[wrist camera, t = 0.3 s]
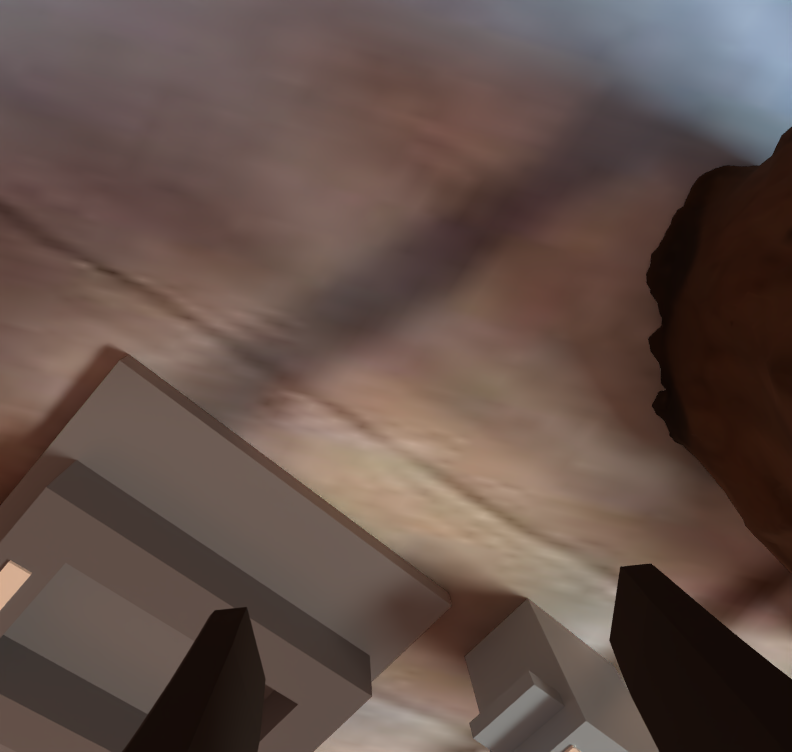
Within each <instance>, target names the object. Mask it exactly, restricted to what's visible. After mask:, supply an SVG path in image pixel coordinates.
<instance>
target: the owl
mask: <svg viewBox="0 0 792 752" xmlns="http://www.w3.org/2000/svg"><path fill="white" fill-rule="evenodd" d="M646 276H647V284H648V286H649V288H650V293H651V294H652V296H653V297H654V299H655V300H656V301H657V303H658V307H659V312H660V315H661V317H662V326H661V327H660V328H659V329H658V330H657V331H655V332H654V333H653V334H652V335H651V336H650V337H649V338H648V341H649V345H650V350H651V352H652V354H653V355H654V357H655V358H656V360H657V361H658V362H659V365H660V369H661V384H662V385H663V387H664V388H665V389H666V390H664V391H660V392H659V393H658V394H657V396H656V398H655V400H654V402H653V404H652V407H653V409H654V411H655V413H656V414H657V415H658V416H659V417H661V418H662V419H663V420H664V421H665V423H666V425H667V428H668V430H669V433H670V436H671V437H672V438H673V440H674V441H675V442H677V443H679V444H681V445H683V446H684V447H685V448H686V449H687V450H688V451H689V452H690V453H692V454H693V455H694V456H695V457H696V458H697V459H698V460H699V461H700V462H701V464H702V465H703V466H704V467H705V469H706V470H707V471H708V472H709V473H710V475H711V476H712V477H713V478H714V479H715V481H716V482H717V483H718V484H719V485H720V487H721V488H722V489H723V490H724V492H725V493H726V495H727V496H728V498H729V499H730V501H731V502H732V504H733V505H734V507H735V508H736V510H737V511H738V512H739V514H740V515H741V517H742V518H743V520H744V523H745V526H746V527H747V528H748V529H749V530H750V531H751V532H752V534H753V535H754V536H755V537H756V538H758V539H759V540H760V541H761V542H762V543H763V544H764V545H765V546H766V547H767V549H768V550H769V551H770V552H771V553H772V554H773V555H774V556H775V557H776V558H777V559H778V560H779V561H780V562H781V563H782V564H783V565H784V567H785V568H786V569H787V570H788V571H789V572H790V573H791V574H792V127H791V128H790V129H789V130H787V131H786V132H785V133H784V134H783V135H782V136H781V138H780V140H779V142H778V144H777V146H776V148H775V151H774V153H773V155H772V156H771V157H770V158H769V159H767V160H766V161H765V162H763V163H762V164H761V165H760V166H730V165H726V166H722V167H719V168H715V169H713V170H712V171H709V172H707V173H705V174H703V175H702V176H700V177H699V178H698V179H697V181H696V182H695V183H694V185H693V186H692V188H691V190H690V193H689V195H688V197H687V199H686V201H685V204H684V206H683V207H682V208H680V209H679V210H677V213H676V214H675V215H674V216H673V218H672V221H671V225H670V226H669V228H668V230H667V231H666V233H665V236H664V238H663V240H662V241H661V243H660V245H659V247H658V248H657V249H656V250H655V251H654V252H653V253H652V254H651V264H650V267H649V269H648V272H647V274H646Z"/></svg>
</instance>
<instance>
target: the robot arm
mask: <svg viewBox="0 0 792 752" xmlns="http://www.w3.org/2000/svg"><path fill="white" fill-rule="evenodd" d="M609 641H610V643H611V646H612V649H613V651H614V654H615V657H616V659H617V662H618V664H619V667H620V670H621V672H622V675H623V677H624V680H625V682H626V685H627V687H628V690H629V692H630V695H631V697H632V699H633V701H634V703H635V705H636V707H637V709H638V711H639V713H640V715H641V717H642V719H643V721H644V723H645V725H646V727H647V729H648V731H649V733H650V734H651V736H652V738H653V740H654V742H655V744H656V746H657V748H658V750H659V752H792V679H791V678H789V677H788V676H787V675H786V674H784V673H783V672H782V671H780V670H779V669H778V668H777V667H775V666H774V665H773V664H771V663H770V662H769V661H768V660H766V659H765V658H764V657H763V656H761V655H760V654H759V653H758V652H756V651H755V650H754V649H753V648H751V647H750V646H749V645H748V644H747V643H745V642H744V641H743V640H742V639H740V638H739V637H738V636H737V635H735V634H734V633H733V632H732V631H731V630H729V629H728V628H727V627H726V626H725V625H723V624H722V623H721V622H720V621H719V620H717V619H716V618H715V617H714V616H713V615H711V614H710V613H709V612H708V611H707V610H705V609H704V608H703V607H702V606H701V605H700V604H698V603H697V602H696V601H695V600H694V599H692V598H691V597H690V596H689V595H688V594H687V593H685V592H684V591H683V590H682V589H681V588H680V587H678V586H677V585H676V584H675V583H674V582H672V581H671V580H670V579H669V578H668V577H667V576H665V575H664V574H663V573H662V572H661V571H659V570H658V569H657V568H656V567H655V566H654V565H652V564H642V565H633V566H624V567H620V573H619V579H618V586H617V593H616V600H615V606H614V613H613V620H612V627H611V634H610V640H609ZM265 681H266V678H265V675H264V671H263V667H262V663H261V659H260V655H259V651H258V647H257V644H256V640H255V636H254V632H253V628H252V624H251V620H250V616H249V613H248V609H247V607H240V608H231V609H222V610H214V612H213V613H212V614H211V615H210V616H209V618H208V619H207V621H206V623H205V624H204V626H203V628H202V629H201V631H200V633H199V634H198V636H197V638H196V639H195V641H194V643H193V644H192V646H191V648H190V649H189V651H188V653H187V654H186V656H185V658H184V659H183V661H182V662H181V664H180V666H179V667H178V669H177V670H176V672H175V673H174V675H173V677H172V678H171V680H170V681H169V683H168V685H167V686H166V688H165V689H164V691H163V692H162V694H161V695H160V697H159V698H158V700H157V701H156V703H155V704H154V706H153V707H152V709H151V710H150V712H149V713H148V715H147V716H146V718H145V719H144V721H143V722H142V724H141V725H140V727H139V728H138V730H137V731H136V733H135V734H134V736H133V737H132V738H131V740H130V741H129V743H128V744H127V746H126V747H125V748H124V750H123V751H122V752H258V747H259V742H260V734H261V725H262V715H263V704H264V692H265Z"/></svg>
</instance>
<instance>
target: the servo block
mask: <svg viewBox="0 0 792 752" xmlns="http://www.w3.org/2000/svg"><path fill="white" fill-rule="evenodd" d="M465 660H466V663H467V667H468V671H469V675H470V678H471V682H472V686H473V689H474V693H475V697H476V701H477V704H478V708H479V712H480V714H479V715H478V716H477V717H476V718H474V719H473V720H472V721H471V722H470V727H471V731H472V736H473V739H475V740H476V741H478V742H479V743H481V744H482V745H484V746H485V747H487V748H488V749H490V752H659V750H658V748H657V746H656V744H655V742H654V740H653V738H652V736H651V734H650V733H649V731H648V729H647V727H646V725H645V723H644V721H643V719H642V717H641V715H640V713H639V711H638V709H637V707H636V705H635V703H634V701H633V699H632V697H631V695H630V693H629V691H628V689H627V687H626V686H625V684H624V682H623V681H622V679H621V677H620V676H619V674H618V672H617V671H616V669H615V667H614V666H613V665H612V664H611V663H610V662H608V661H607V660H606V659H605V658H603V657H602V656H601V655H599V654H598V653H597V652H596V651H594V650H593V649H592V648H591V647H589V646H588V645H587V644H585V643H584V642H583V641H582V640H580V639H579V638H578V637H577V636H575V635H574V634H573V633H571V632H570V631H569V630H568V629H566V628H565V627H564V626H563V625H561V624H560V623H559V622H557V621H556V620H555V619H554V618H552V617H551V616H550V615H549V614H547V613H546V612H545V611H543V610H542V609H541V608H540V607H538V606H537V605H536V604H534V603H533V602H532V601H531V600H529V599H528V598H527V599H526V600H525V601H524V602H523V603H522V604H521V605H520V606H519V607H518V608H517V609H516V610H514V611H513V612H512V613H511V614H510V615H509V616H508V617H507V618H506V619H505V620H504V621H503V622H501V623H500V624H499V625H498V626H497V627H496V628H495V629H494V630H493V631H492V632H491V633H490V634H488V635H487V636H486V637H485V638H484V639H483V640H482V641H481V642H480V643H479V644H478V645H477V646H475V647H474V648H473V649H472V650H471V651H470V652H469V653H468V654H467V655H466V656H465Z"/></svg>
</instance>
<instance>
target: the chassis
mask: <svg viewBox="0 0 792 752" xmlns="http://www.w3.org/2000/svg"><path fill="white" fill-rule="evenodd" d="M451 606H452V604H451V601H450V597H449V593H448V592H446V591H445V590H444V589H442V588H441V587H440V586H438V585H437V584H436V583H434V582H433V581H432V580H430V579H429V578H428V577H426V576H425V575H424V574H422V573H421V572H420V571H418V570H417V569H416V568H414V567H413V566H412V565H410V564H409V563H408V562H406V561H405V560H404V559H402V558H401V557H400V556H398V555H397V554H395V553H394V552H393V551H391V550H390V549H389V548H387V547H386V546H385V545H383V544H382V543H381V542H379V541H378V540H377V539H375V538H374V537H373V536H371V535H370V534H369V533H367V532H366V531H365V530H363V529H362V528H361V527H359V526H358V525H357V524H355V523H354V522H353V521H351V520H350V519H349V518H347V517H346V516H345V515H343V514H342V513H341V512H339V511H338V510H337V509H335V508H334V507H332V506H331V505H330V504H328V503H327V502H326V501H324V500H323V499H322V498H320V497H319V496H318V495H316V494H315V493H314V492H312V491H311V490H310V489H308V488H307V487H306V486H304V485H303V484H302V483H300V482H299V481H298V480H296V479H295V478H294V477H292V476H291V475H290V474H288V473H287V472H286V471H284V470H283V469H282V468H280V467H279V466H278V465H276V464H275V463H274V462H272V461H271V460H269V459H268V458H267V457H265V456H264V455H263V454H261V453H260V452H259V451H257V450H256V449H255V448H253V447H252V446H251V445H249V444H248V443H247V442H245V441H244V440H243V439H241V438H240V437H239V436H237V435H236V434H235V433H233V432H232V431H231V430H229V429H228V428H227V427H225V426H224V425H223V424H221V423H220V422H219V421H217V420H216V419H215V418H213V417H212V416H211V415H209V414H208V413H206V412H205V411H204V410H202V409H201V408H200V407H198V406H197V405H196V404H194V403H193V402H192V401H190V400H189V399H188V398H186V397H185V396H184V395H182V394H181V393H180V392H178V391H177V390H176V389H174V388H173V387H172V386H170V385H169V384H168V383H166V382H165V381H164V380H162V379H161V378H160V377H158V376H157V375H156V374H154V373H153V372H152V371H150V370H149V369H147V368H146V367H145V366H143V365H142V364H141V363H139V362H138V361H137V360H135V359H134V358H133V357H131V356H130V355H127V356H126V357H124V358H122V359H121V360H119V362H118V363H117V364H116V365H115V366H114V368H113V369H112V370H111V371H110V372H109V374H108V375H107V376H106V377H105V379H104V380H103V381H102V382H101V383H100V385H99V386H98V387H97V388H96V390H95V391H94V392H93V393H92V394H91V396H90V397H89V398H88V399H87V401H86V402H85V403H84V404H83V405H82V407H81V408H80V409H79V410H78V412H77V413H76V414H75V415H74V416H73V418H72V419H71V420H70V421H69V422H68V424H67V425H66V426H65V427H64V429H63V430H62V431H61V432H60V433H59V435H58V436H57V437H56V438H55V440H54V441H53V442H52V443H51V444H50V446H49V447H48V448H47V449H46V451H45V452H44V453H43V454H42V455H41V457H40V458H39V459H38V460H37V461H36V463H35V464H34V465H33V466H32V468H31V469H30V470H29V471H28V472H27V474H26V475H25V476H24V477H23V479H22V480H21V481H20V482H19V483H18V485H17V486H16V487H15V488H14V490H13V491H12V492H11V493H10V494H9V496H8V497H7V498H6V499H5V500H4V502H3V503H2V504H1V505H0V752H122V751H123V750H124V748H125V747H126V746H127V744H128V743H129V741H130V740H131V738H132V737H133V736H134V734H135V733H136V731H137V730H138V728H139V727H140V725H141V724H142V722H143V721H144V719H145V718H146V716H147V715H148V713H149V712H150V710H151V709H152V707H153V706H154V704H155V703H156V701H157V700H158V698H159V697H160V695H161V694H162V692H163V691H164V689H165V688H166V686H167V685H168V683H169V681H170V680H171V678H172V677H173V675H174V673H175V672H176V670H177V669H178V667H179V666H180V664H181V662H182V661H183V659H184V658H185V656H186V654H187V653H188V651H189V649H190V648H191V646H192V644H193V643H194V641H195V639H196V638H197V636H198V634H199V633H200V631H201V629H202V628H203V626H204V624H205V623H206V621H207V619H208V618H209V616H210V615H211V614H212V613H213V612H214V610H222V609H231V608H240V607H247V609H248V613H249V616H250V620H251V624H252V628H253V632H254V636H255V640H256V644H257V647H258V651H259V655H260V659H261V663H262V667H263V671H264V675H265V678H266V681H265V692H264V704H263V715H262V725H261V734H260V742H259V747H258V752H314V751H315V750H316V749H317V748H318V747H319V746H320V745H321V744H322V743H323V742H324V741H325V740H326V739H327V738H328V737H329V736H330V735H332V734H333V733H334V732H335V731H336V730H337V729H338V728H339V727H340V726H341V725H342V724H343V723H344V722H345V721H346V720H347V719H349V718H350V717H351V716H352V715H353V714H354V713H355V712H356V711H357V710H358V709H359V708H360V707H361V706H362V705H363V704H364V703H366V702H367V701H368V700H369V699H370V698H371V697H372V687H371V682H372V681H373V680H374V679H375V678H377V677H378V676H379V675H380V674H381V673H382V672H383V671H384V670H385V669H386V668H387V667H388V666H389V665H390V664H391V663H392V662H393V661H394V660H396V659H397V658H398V657H399V656H400V655H401V654H402V653H403V652H404V651H405V650H406V649H407V648H408V647H409V646H410V645H411V644H412V643H413V642H414V641H416V640H417V639H418V638H419V637H420V636H421V635H422V634H423V633H424V632H425V631H426V630H427V629H428V628H429V627H430V626H431V625H432V624H433V623H435V622H436V621H437V620H438V619H439V618H440V617H441V616H442V615H443V614H444V613H445V612H446V611H447V610H448V609H449V608H450V607H451Z"/></svg>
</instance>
